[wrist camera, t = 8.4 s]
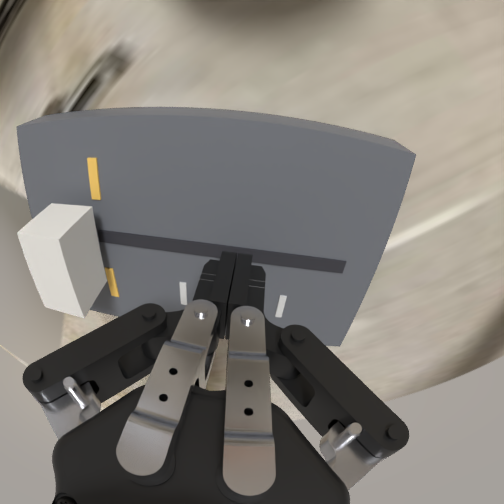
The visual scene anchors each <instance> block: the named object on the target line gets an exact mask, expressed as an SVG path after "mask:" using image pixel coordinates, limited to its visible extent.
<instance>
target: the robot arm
mask: <svg viewBox="0 0 504 504" xmlns="http://www.w3.org/2000/svg"><path fill="white" fill-rule="evenodd" d="M252 256H253V255H251V254H244V253H238V256H237V253H236V252H228V251H222V254H221V257H220V261H219V260H212V259H210V260H209V261H208V262H207V263H206V264H205V265H204V267H203V270H202V274H201V276H200V280H199V282H198V285H197V288H196V291H195V294H194V297H193V300H192V301H191V302H190V303H188V304H187V305H186V307H185V309H183V310H180V311H173V312H165V310H164V309H163V307H161V306H160V305H158V304H154V303H147V304H143V305H141V306H139V307H137V308H135V309H133V310H131V311H129V312H128V313H126V314H124V315H122V316H120V317H118V318H116V319H114V320H112V321H111V322H109V323H107V324H105V325H103V326H101V327H99V328H97V329H95V330H94V331H92V332H90V333H88V334H86V335H84V336H82V337H80V338H79V339H77V340H75V341H73V342H71V343H69V344H67V345H65V346H64V347H62V348H60V349H58V350H56V351H54V352H52V353H50V354H49V355H47V356H45V357H43V358H41V359H39V360H37V361H36V362H34V363H32V364H30V365H29V366H28V367H27V368H26V369H25V371H24V374H23V383H24V385H25V387H26V388H27V389H28V390H29V392H30V393H31V394H32V395H33V397H34V398H35V399H36V401H38V403H39V404H40V405H41V406H42V408H43V410H44V413H45V414H46V417H47V419H48V421H49V423H50V425H51V427H52V428H53V430H54V432H55V434H56V436H57V438H58V441H57V443H56V445H55V447H54V450H53V455H52V463H53V468H54V473H55V480H56V493H55V498H54V501H53V503H52V504H350V496H349V492H348V490H349V489H350V488H351V487H353V486H354V485H355V484H356V483H357V482H358V481H359V480H361V479H362V478H363V477H364V476H365V475H366V474H367V473H368V472H369V471H370V470H371V469H372V468H373V467H375V466H376V465H377V464H378V463H379V462H380V461H382V460H384V459H386V458H387V457H389V456H391V455H392V454H394V453H395V452H397V451H398V450H400V449H401V448H403V447H404V446H405V445H406V444H407V442H408V439H409V430H408V428H407V426H406V424H405V423H404V422H403V421H402V420H401V419H400V418H399V417H398V416H397V415H396V414H395V413H394V412H392V410H391V409H390V408H388V407H387V406H386V405H385V404H384V403H383V402H382V401H381V400H380V399H379V398H378V397H377V396H376V395H375V394H374V393H373V392H372V391H371V390H370V389H369V388H368V387H367V386H366V385H365V384H364V383H363V382H362V381H361V380H360V379H359V378H358V377H357V376H356V375H355V374H354V373H353V372H352V371H351V370H350V369H349V368H348V367H347V366H346V365H345V364H344V363H342V362H341V361H340V360H339V359H338V358H337V357H336V356H335V355H334V354H333V353H332V352H331V351H330V350H329V349H328V348H327V347H326V346H325V345H324V344H323V343H322V342H321V341H320V340H319V339H318V338H317V337H316V336H315V335H314V334H313V333H312V332H311V331H310V330H309V329H308V328H306V327H304V326H302V325H296V324H294V325H289V326H287V327H285V328H281V327H278V326H276V325H274V324H272V323H271V322H269V321H268V320H267V318H266V317H265V315H264V298H265V280H266V273H265V271H264V269H263V267H262V266H256V265H251V264H252ZM236 260H237V261H236ZM226 325H227V326H226ZM225 331H226V339H228V340H229V342H228V354H227V369H226V385H225V390H222V391H208V390H206V385H207V381H208V378H209V374H210V371H211V368H212V364H213V361H214V357H215V354H216V348H217V346H218V341H219V338H221V339H224V336H225ZM148 374H150V376H149V378H148V380H147V383H146V385H143V386H140V387H138V388H136V389H134V390H133V391H131V392H130V393H128V394H127V395H125V396H124V397H122V398H121V399H119V400H117V401H116V402H114V403H113V404H111V405H110V406H108V407H107V408H105V409H104V410H102V411H101V412H100V409H101V403H102V402H104V401H106V400H107V399H109V398H111V397H112V396H114V395H116V394H117V393H119V392H121V391H122V390H124V389H126V388H127V387H129V386H131V385H132V384H134V383H135V382H137V381H139V380H140V379H142V378H143V377H145V376H147V375H148ZM270 376H271V378H272V380H273V381H274V382H275V383H276V384H277V386H278V387H279V388H280V389H281V390H282V392H283V393H284V394H285V395H286V396H287V397H288V399H289V400H290V401H291V402H292V403H293V404H294V406H295V407H296V408H297V409H298V410H299V411H300V412H301V414H302V415H303V416H304V417H305V418H306V419H307V420H308V422H309V423H310V424H311V425H312V426H313V427H314V428H315V429H316V430H317V432H318V433H319V434H320V435H321V436H322V438H321V441H320V450H321V453H322V454H323V456H324V457H325V459H326V461H325V460H324V459H323V458H322V457H321V456H320V454H319V453H318V452H317V451H316V450H315V448H314V447H313V446H312V445H311V444H310V442H309V441H308V440H307V439H306V437H305V436H304V435H303V434H302V433H301V431H300V430H299V429H298V427H297V426H296V425H295V424H294V423H293V421H292V420H291V419H290V417H289V416H288V415H287V414H286V413H285V412H284V411H283V410H282V409H281V408H279V407H278V406H277V405H275V404H273V403H271V391H270Z"/></svg>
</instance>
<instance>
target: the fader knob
mask: <svg viewBox="0 0 504 504" xmlns="http://www.w3.org/2000/svg"><path fill="white" fill-rule="evenodd" d="M17 234H18V237H19V240H20V243H21V247H22V250H23V253H24V256H25V258H26V261H27V264H28V267H29V269H30V272H31V274H32V277H33V280H34V282H35V285H36V287H37V290H38V292H39V294H40V297H41V299H42V301H43V304H44V305H45V307H47V308H50V309H54V310H57V311H60V312H64V313H67V314H71V315H74V316H78V317H82V318H85V316H86V315H87V313H88V311H89V310H90V308H91V306H92V305H93V303H94V301H95V300H96V298H97V296H98V295H99V293H100V292H101V290H102V288H103V287H104V285H105V284H106V282H107V278H106V274H105V270H104V265H103V261H102V256H101V252H100V243H99V238H98V232H97V229H96V226H95V220H94V214H93V208H92V206H80V205H68V204H54V203H51V204H50V205H49V206H48V207H46V208H45V209H44V210H43V211H42V212H40V213H39V214H38V215H37V216H36V217H35V218H33V219H32V220H31V221H30V222H29V223H28V224H27V225H25V226H24V227H23V228H22V229H21V230H20V231H19V232H18V233H17Z"/></svg>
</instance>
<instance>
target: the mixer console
mask: <svg viewBox="0 0 504 504" xmlns="http://www.w3.org/2000/svg"><path fill="white" fill-rule="evenodd" d="M17 136H18V145H19V153H20V160H21V167H22V173H23V179H24V184H25V189H26V194H27V199H28V203H29V208H30V212H31V216H32V219H33V218H35V217H36V216H37V215H38V214H39V213H40V212H42V211H43V210H44V209H45V208H46V207H48V206H49V205H50V204H51V203H54V204H68V205H80V206H92V208H93V214H94V220H95V226H96V229H97V232H98V238H99V243H100V252H101V256H102V261H103V265H104V270H105V274H106V278H107V282H106V284H105V285H104V287H103V288H102V290H101V292H100V293H99V295H98V296H97V298H96V300H95V301H94V303H93V305H92V306H91V308H90V310H93V311H97V312H101V313H105V314H110V315H114V316H119V317H120V316H122V315H124V314H126V313H128V312H129V311H131V310H133V309H135V308H137V307H139V306H141V305H143V304H147V303H154V304H158V305H160V306H161V307H163V309H164V310H165V312H173V311H180V310H183V309H185V307H186V305H187V304H188V303H190V302H191V301H192V300H193V297H194V294H195V291H196V288H197V285H198V282H199V280H200V276H201V274H202V270H203V267H204V265H205V264H206V263H207V262H208V261H209V260H210V259H212V260H219V261H220V257H221V254H222V251H228V252H236V253H237V256H238V253H244V254H251V255H253V256H252V264H251V265H256V266H262V267H263V269H264V271H265V273H266V280H265V298H264V315H265V317H266V318H267V320H268V321H269V322H271V323H272V324H274V325H276V326H278V327H281V328H285V327H287V326H289V325H294V324H296V325H302V326H304V327H306V328H308V329H309V330H310V331H311V332H312V333H313V334H314V335H315V336H316V337H317V338H318V339H319V340H320V341H321V342H322V343H323V344H324V345H325V346H340V345H341V343H342V341H343V339H344V338H345V336H346V334H347V332H348V330H349V328H350V326H351V324H352V322H353V320H354V317H355V315H356V313H357V311H358V309H359V307H360V305H361V303H362V301H363V298H364V296H365V294H366V292H367V290H368V287H369V285H370V283H371V280H372V278H373V276H374V274H375V271H376V269H377V266H378V264H379V262H380V259H381V257H382V254H383V252H384V249H385V247H386V244H387V241H388V239H389V236H390V234H391V231H392V228H393V225H394V223H395V220H396V217H397V214H398V211H399V208H400V206H401V203H402V200H403V197H404V193H405V190H406V187H407V184H408V181H409V178H410V174H411V171H412V167H413V164H414V161H415V157H416V154H414V153H413V152H411V151H410V150H408V149H407V148H405V147H404V146H402V145H401V144H399V143H398V142H396V141H395V140H392V139H388V138H385V137H381V136H377V135H373V134H370V133H366V132H362V131H357V130H353V129H349V128H344V127H340V126H335V125H330V124H325V123H320V122H315V121H309V120H304V119H298V118H292V117H285V116H278V115H271V114H263V113H255V112H245V111H235V110H223V109H208V108H187V107H131V108H110V109H96V110H85V111H75V112H66V113H59V114H52V115H45V116H43V117H40V118H37V119H34V120H32V121H29V122H27V123H24V124H22V125H19V126H17ZM236 261H237V260H236ZM226 326H227V325H226ZM225 336H226V331H225Z"/></svg>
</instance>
